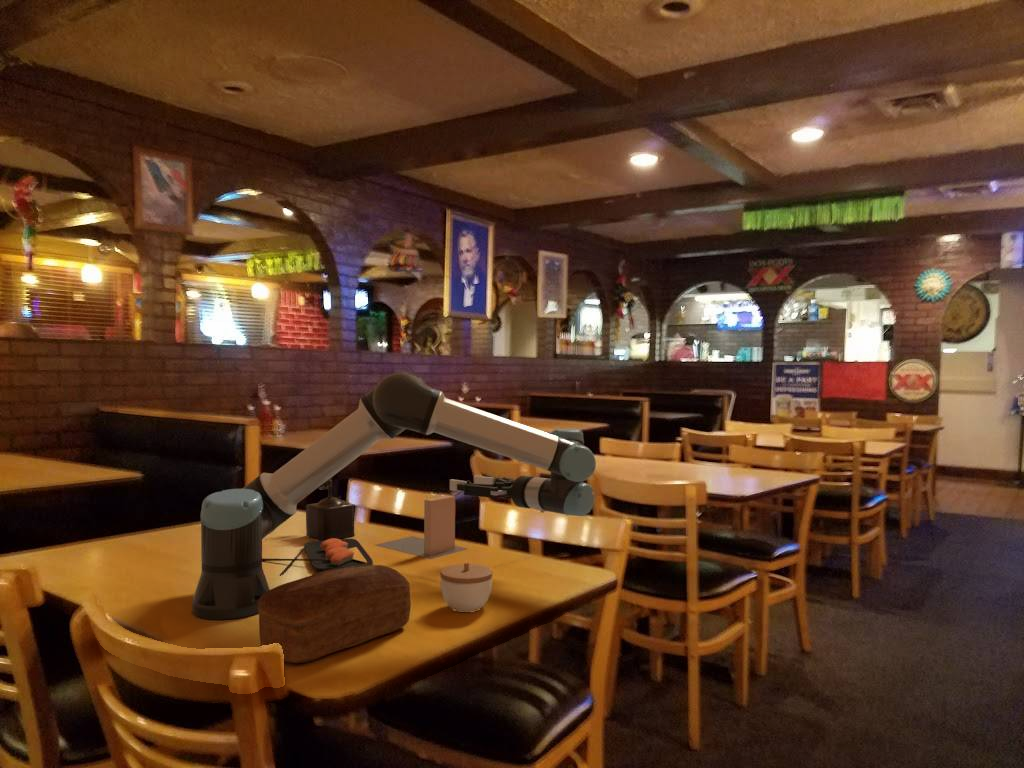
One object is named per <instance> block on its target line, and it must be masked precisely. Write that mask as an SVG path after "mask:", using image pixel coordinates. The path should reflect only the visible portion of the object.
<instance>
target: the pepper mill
mask: <svg viewBox="0 0 1024 768" xmlns="http://www.w3.org/2000/svg"><path fill="white" fill-rule="evenodd" d="M332 478H333V476H332V477H331V478H330V479H329V480H327V481H326V482H325V483H323V484H322V486H319V487H318V489H319V490H321V491H322V490H328V493H327V494H328V496H327V497H325V498H323V499H320V500H319V502H317V503H311V504H310V503H309V504H305V529H306V530H305V532H306V533H305V534H306V536H307V537H308V538H311V539H313V540H315V541H323V540H328V539H332V538H336V539H349V538H352V537H355V504H352V503H348V502H347V501H345V500H342V499H341V498H342V496H341V495H339V496H338V497H335V496H333V495H332V492H333V491H332V488H333V480H332Z"/></svg>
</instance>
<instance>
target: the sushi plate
mask: <svg viewBox="0 0 1024 768" xmlns="http://www.w3.org/2000/svg"><path fill="white" fill-rule="evenodd" d="M353 548H356V549H357V550H358V551H359V553H360V554H361V555H362V556H363V558H364V559H365V561H366V562H365V561H362V560H358V559H355V558H354V555H355V552H354V551H353V550H349V549H353ZM303 551H305V553H306V555H307V557H308V558H298V557H299V556H300V555H301V554H302V553H303ZM283 561H286V562H289V561H291V562H290V563H289V564H287V566H286V567H285V568H284V569H283V570H282V572H280V574H279V575H280V576H281V575H282V576H284V574H286V572H288V570H289V569H290V568H291V566H292V565H293V564H294V562H295V561H300V562H301V561H306V562H307V561H309V562H310V564H311V566H312V567H313V569H315V570H317V571H326V570H331V569H337V568H344V567H350V566H361V565H365V564H367V565H374V563H373V562H374V561H373V559H372V558H371V556H370V555H369V553H368V552H367V551H366V549H365V548H364V547H363V546H362V545H361V543H360V542H359V541H358V540H357V539H355V538H343V539H336V538H332V539H328V540H323V541H320V540H314V541H308V542H304V544H303V547H302V549H301V550H300V551H299V552H298V553H297V555H295V557H294V558H265V557H264V558H263V557H262V562H283ZM282 576H281V577H282Z"/></svg>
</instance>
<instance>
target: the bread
mask: <svg viewBox="0 0 1024 768" xmlns="http://www.w3.org/2000/svg"><path fill="white" fill-rule="evenodd" d="M410 585H411V584H410V582H409V581H408V579H407V578H406V576H404V575H403V574H401V572H399V571H397V570H396V569H394V568H392V567H390V566H386V565H382V564H372V565H367V564H365V565H361V566H350V567H344V568H337V569H331V570H322V571H321V572H318V573H316V574H311V575H308V576H305V577H302V578H299V579H295V580H293V581H290V582H288V581H287V582H286V583H283V584H280V585H277V586H275V587H272V588H271V589H270V590H269V591H267V592H265V593H264V594H263V595H262V596H261V597H260V599H259V602H258V612H259V613H258V623H259V625H258V628H259V629H258V630H259V642H260V644H259V645H260V646H262V645H269V644H273V643H279V644H280V645H281V646H282V649H283V654H284V660H285V661H284V662H285V663H290V664H291V663H292V664H300V663H305V662H307V663H308V662H311V661H313V660H317V659H319V658H322V657H325V656H327V655H330V654H333V653H335V652H339V651H341V650H345V649H347V648H348V649H349V648H351V647H354V646H357V645H360V644H363V643H365V642H367V641H369V640H373V639H375V638H377V637H380V636H384V635H386V634H390V633H391V634H392V633H394V632H396V631H398V630H401V629H402V628H403V627H405V626H406V625H407V624H408V623H409V620H410V616H411V615H410V614H411V605H412V604H411V586H410ZM260 646H259V647H260Z"/></svg>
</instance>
